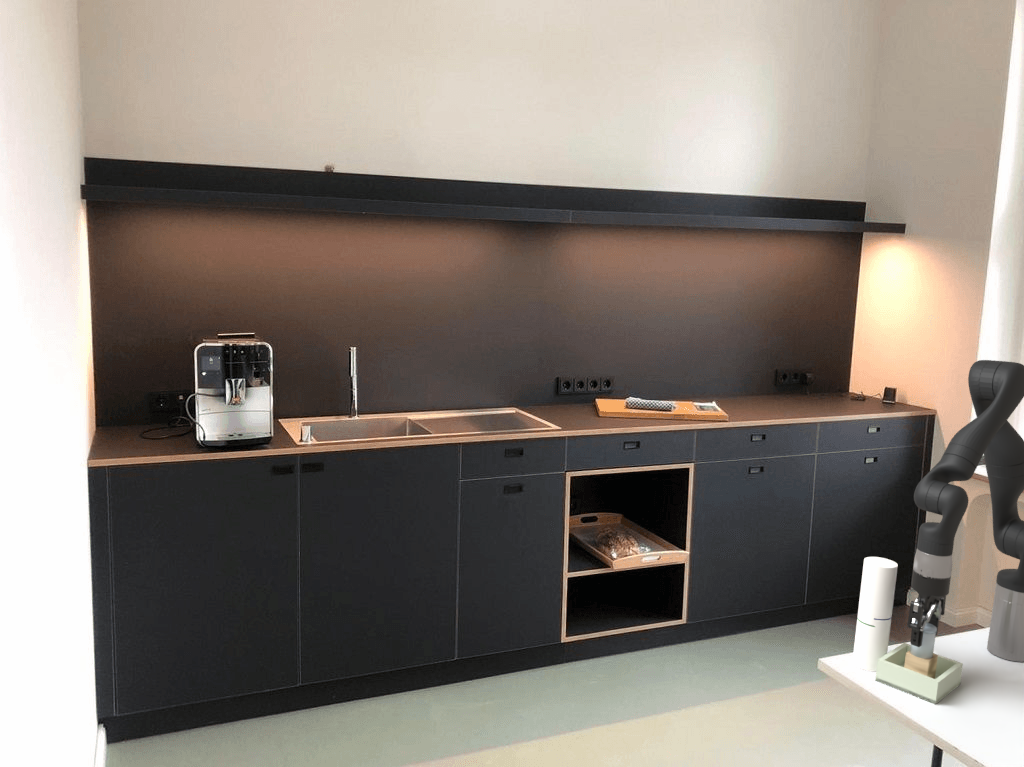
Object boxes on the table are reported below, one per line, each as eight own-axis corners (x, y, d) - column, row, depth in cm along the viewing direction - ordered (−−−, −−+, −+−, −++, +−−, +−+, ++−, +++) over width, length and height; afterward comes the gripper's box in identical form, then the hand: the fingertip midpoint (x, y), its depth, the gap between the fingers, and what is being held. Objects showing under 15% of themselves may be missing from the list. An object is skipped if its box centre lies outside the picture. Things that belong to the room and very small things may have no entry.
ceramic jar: (914, 646, 194) (918, 619, 192) (936, 654, 190) (940, 627, 189) (905, 652, 190) (909, 625, 189) (927, 661, 187) (931, 633, 186)
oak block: (912, 671, 195) (915, 646, 194) (934, 680, 191) (938, 654, 190) (902, 678, 191) (905, 652, 190) (925, 686, 188) (929, 661, 187)
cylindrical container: (888, 673, 195) (901, 569, 191) (855, 669, 196) (867, 565, 192) (881, 659, 202) (893, 558, 198) (849, 655, 203) (861, 555, 199)
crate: (901, 662, 201) (904, 642, 200) (960, 684, 191) (962, 663, 191) (875, 680, 191) (877, 659, 190) (935, 704, 182) (938, 682, 181)
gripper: (927, 558, 195) (919, 625, 197) (901, 572, 185) (893, 642, 188) (962, 568, 189) (953, 637, 192) (937, 583, 180) (928, 655, 182)
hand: (923, 640), depth 190 cm, fingers open, 8 cm apart
